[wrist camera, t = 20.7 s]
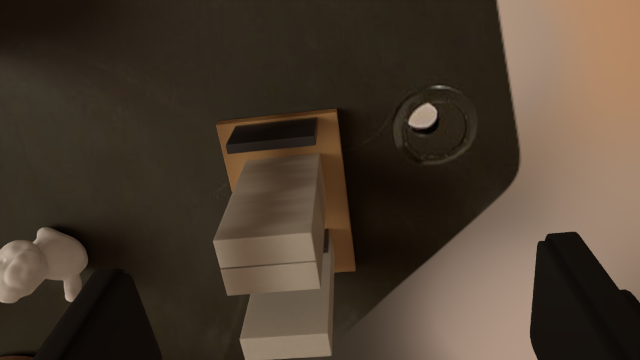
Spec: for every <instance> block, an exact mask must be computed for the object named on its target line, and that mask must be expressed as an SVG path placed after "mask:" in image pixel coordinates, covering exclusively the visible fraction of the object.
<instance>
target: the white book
mask: <svg viewBox="0 0 640 360" xmlns="http://www.w3.org/2000/svg"><path fill="white" fill-rule="evenodd" d="M334 259H335V256H334V249H333V242H332V238H329V245H328V253H323V261H322V277H321V289H310V290H296V291H282V292H269V293H255V294H251V295H250V300H249V304H248V308H247V312H246V316H245V320H244V324H243V328H242V332H241V336H240V342H241V346H242V350H243V353H244V357H245V360H271V359H287V358H304V357H320V356H331V355H332V328H333V293H334Z"/></svg>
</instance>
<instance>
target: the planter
mask: <svg viewBox="0 0 640 360" xmlns="http://www.w3.org/2000/svg"><path fill="white" fill-rule="evenodd" d="M33 358H34V357H27V356H3V357H0V360H32V359H33Z"/></svg>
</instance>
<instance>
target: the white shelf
mask: <svg viewBox="0 0 640 360" xmlns="http://www.w3.org/2000/svg"><path fill="white" fill-rule="evenodd" d="M216 127H217V131H218V135H219V140H220V144H221V148H222V152H223V156H224V160H225V165H226V169H227V173H228V177H229V181H230V186H231V190H232V196H231V198H230V201H229V203H228V205H227V208H226V210H225V213H224V215H223V218H222V220H221V223H220V225H219V228H218V230H217V233H216V235H215V238H214V240H213V243H214V247H215V250H216V254H217V257H218V261H219V265H220V268H221V273H222V277H223V280H224V284H225V288H226V291H227V295H242V294H255V293H269V292H282V291H296V290H310V289H321V277H322V261H323V253H328V245H329V238H332V242H333V249H334V256H335V259H334V273H335V272H348V271H356V264H355V256H354V247H353V239H352V230H351V222H350V214H349V205H348V197H347V189H346V180H345V172H344V164H343V155H342V147H341V138H340V130H339V122H338V113H337V109H336V108H335V109H326V110H317V111H308V112H298V113H289V114H280V115H271V116H262V117H252V118H243V119H234V120H225V121H219V122H218V123H217V125H216Z"/></svg>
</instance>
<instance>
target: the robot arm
mask: <svg viewBox="0 0 640 360" xmlns="http://www.w3.org/2000/svg"><path fill="white" fill-rule="evenodd" d="M530 339H531V343H532V347H533V349H534V352H535V354H536V356H537V359H538V360H640V303H639V301H638V300H637V299H636V297H635V296H634V295H633V294H632V293H631V292H629V291H627V290H619V289H618V287H617V286H616V284H615V283H614V282H613V280H612V279H611V278H610V276H609V275H608V274H607V272H606V271H605V270H604V268H603V267H602V265H601V264H600V263H599V261H598V260H597V259H596V257H595V256H594V255H593V253H592V252H591V251H590V249H589V248H588V246H587V245H586V244H585V242H584V241H583V240H582V238H581V237H580V235H579V234H578V233H576V232H565V233H552V234H548V235H547V236H546V239H545V241H539V242H538V245H537V254H536V266H535V277H534V289H533V301H532V314H531V325H530ZM32 360H162V355H161V352H160V349H159V347H158V344H157V341H156V339H155V336H154V333H153V331H152V328H151V325H150V323H149V320H148V317H147V315H146V312H145V309H144V307H143V304H142V301H141V299H140V296H139V293H138V291H137V288H136V285H135V283H134V280H133V278H132V276H131V275H130V274H126V273H125V272H124V271H123V270H122V269H119V268H118V269H106V270H97V271H95V272H94V273H93V274H92V275H91V277H90V278H89V279H88V281H87V282H86V284H85V285H84V287H83V288H82V289H81V291H80V292H79V294H78V295H77V297H76V298H75V299H74V301H73V302H72V304H71V305H70V306H69V308H68V309H67V311H66V312H65V314H64V315H63V316H62V318H61V319H60V321H59V322H58V324H57V325H56V326H55V328H54V329H53V331H52V332H51V334H50V335H49V336H48V338H47V339H46V341H45V342H44V343H43V345H42V346H41V348H40V349H39V351H38V352H37V353H36V355H35V356H34V358H33V359H32Z"/></svg>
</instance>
